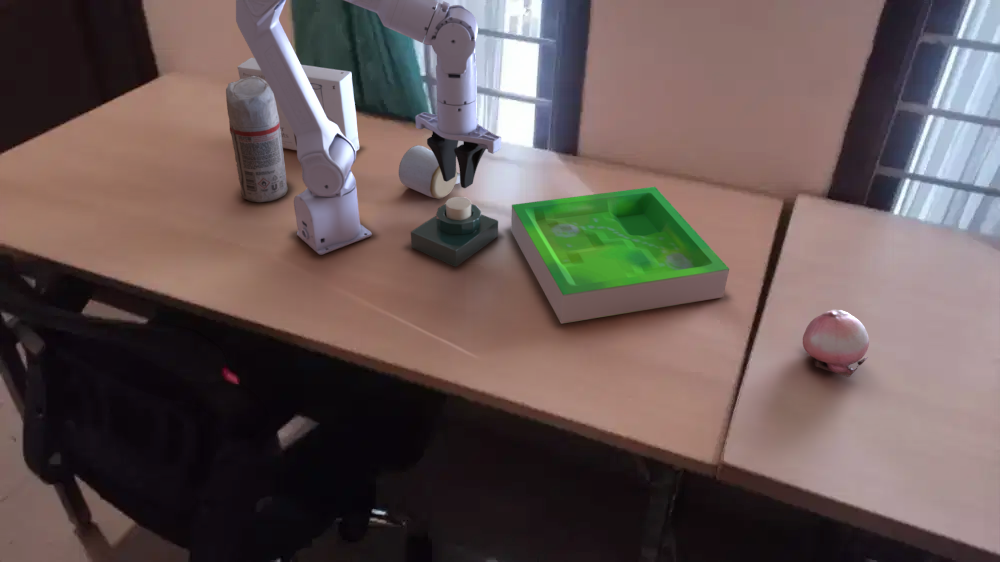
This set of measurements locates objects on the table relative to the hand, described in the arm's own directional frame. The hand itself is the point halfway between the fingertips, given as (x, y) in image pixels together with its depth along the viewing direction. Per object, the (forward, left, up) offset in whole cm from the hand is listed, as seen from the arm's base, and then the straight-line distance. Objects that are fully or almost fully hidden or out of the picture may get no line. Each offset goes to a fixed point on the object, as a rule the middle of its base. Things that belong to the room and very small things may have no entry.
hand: (458, 182), depth 118 cm
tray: (+14, -20, -11) cm, 27 cm away
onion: (+20, -54, -11) cm, 58 cm away
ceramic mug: (+6, +16, -11) cm, 20 cm away
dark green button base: (-1, 0, -10) cm, 10 cm away
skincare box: (-4, +45, -11) cm, 47 cm away
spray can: (-18, +33, -11) cm, 39 cm away
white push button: (0, 0, -6) cm, 6 cm away
